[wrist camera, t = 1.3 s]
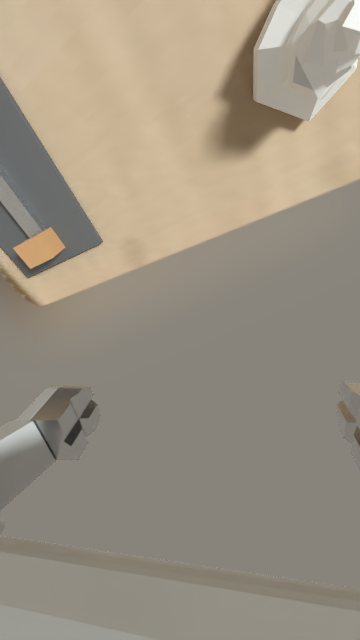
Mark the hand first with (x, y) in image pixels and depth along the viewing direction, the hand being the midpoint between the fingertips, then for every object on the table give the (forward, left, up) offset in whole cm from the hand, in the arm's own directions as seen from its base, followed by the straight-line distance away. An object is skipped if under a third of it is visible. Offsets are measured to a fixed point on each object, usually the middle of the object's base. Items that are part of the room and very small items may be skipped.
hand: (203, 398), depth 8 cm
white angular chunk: (-9, +18, -40) cm, 45 cm away
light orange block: (-3, -28, -38) cm, 48 cm away
